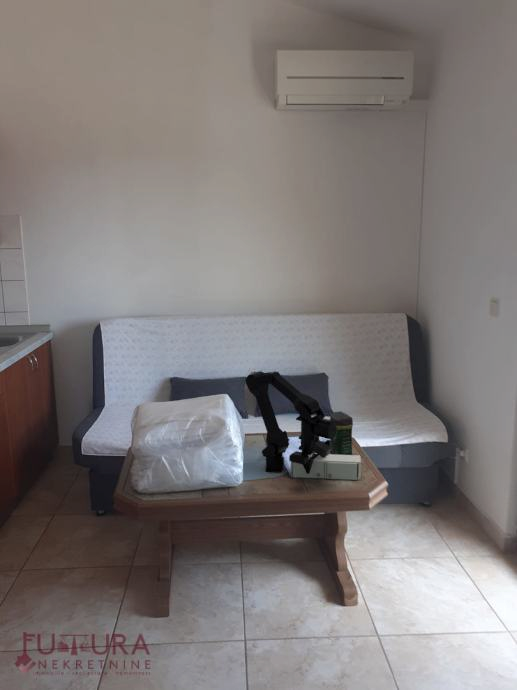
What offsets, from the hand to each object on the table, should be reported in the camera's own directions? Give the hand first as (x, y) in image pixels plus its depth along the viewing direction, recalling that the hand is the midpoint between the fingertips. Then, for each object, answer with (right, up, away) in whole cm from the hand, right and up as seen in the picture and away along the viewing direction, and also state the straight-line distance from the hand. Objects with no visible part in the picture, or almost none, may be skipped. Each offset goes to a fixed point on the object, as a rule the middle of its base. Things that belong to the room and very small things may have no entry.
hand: (308, 473), depth 207 cm
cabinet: (+7, -2, +5) cm, 9 cm away
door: (0, -2, +3) cm, 4 cm away
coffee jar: (+15, +2, +22) cm, 27 cm away
